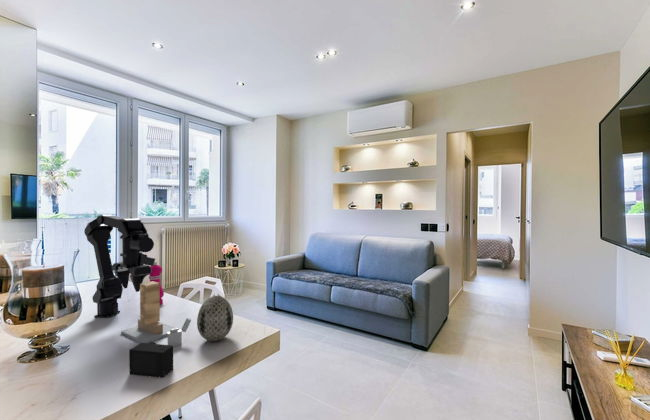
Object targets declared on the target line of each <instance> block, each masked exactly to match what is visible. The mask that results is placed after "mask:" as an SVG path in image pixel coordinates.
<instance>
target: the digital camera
mask: <svg viewBox="0 0 650 420" xmlns="http://www.w3.org/2000/svg"><path fill="white" fill-rule="evenodd" d="M128 354H129V355H128V357H129V361H128V363H129V364H128V365H129V370H128V371H129V376H130V375H132V376H141V377H149V376H151V377H152V378H158V377H160V378H159V379H164V378H165V377H166V376H168V373H169V374H170V373H171V372H173V371H174V346H173V345H168V344H159V343H156V342H155V341H153V342H149V343H140V342H139V343H138V344H137V345H135V346H134V347H133V346H132V347H131V348H130V349H129V353H128ZM163 377H164V378H163Z"/></svg>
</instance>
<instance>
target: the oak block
mask: <svg viewBox="0 0 650 420" xmlns="http://www.w3.org/2000/svg"><path fill="white" fill-rule="evenodd" d="M160 307H161V305H160V292H159V283H158V282H154V281H152V282H150V281H147V282H142V284H140V291H139V311H140V312H139V314H140V315H139V316H140V317H139V319H140V323H143V324H145V325H149V324H152V323H155V322H158V321H159V322H161V321H160V317H161V315H160V314H161V313H160V312H161V310H160V309H161V308H160Z"/></svg>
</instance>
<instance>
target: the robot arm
mask: <svg viewBox="0 0 650 420" xmlns="http://www.w3.org/2000/svg"><path fill="white" fill-rule="evenodd" d="M114 228H115V229H117V231H118V232H119V233H121V235H120V237H119V239H121V240H122V245H121V246H122V252H120V253H119V256H120V257H122V261H119V262H114V263H112V260H111V254H110V249H109V244H108V243H109V240H110V238H111V232H112V231H113V230H114ZM84 235H85V236H86V240H87V242H89V243H90V244H91V245H92V246H93V250H94V254H95V255H94V256H95V260H96V266H97V270H98V275H99V280H98V283H97V284H96V290H95V293H94V294H93V295H92V298H91V299H92V302H93V303H95V304H97V305H96V306H97V307H96V308H97V314H95V315H94V316H93V317H94V318H111V317H113V316H115V315H116V314H119V313H120V312H121V310H119V302H118V299H121V298H122V294H123V291H124V289H128V286H129V277H130V280H131V283H132V285H133V288H134V290H135V292H136V293H137V292H139V293H140V284H142V283H144V282H143V281H144V279H145V278H146V277H147V276H148V275H149V274H150V273H151V272H152V268H151V267H150V266H153V265H154V262H156V258H155V257H150V256H148V255H147V254H146V253H148V252H149V253H150V252H151V251H152V250H153V249H154V247H155V242H154V240H153V239H152V238H151V237H150V235H149V234H148V229H146V226H145V225H144V223H143V221H142V220H141V219H140V218H137V217H136V218H124V217H120V216H116V215H113V214H110V213H109V214H99V215H97V217H96V218H95V219H93V220H91V221H89V222H88V223H87V225H86V226H85V228H84ZM144 253H145V254H144ZM149 276H150V275H149Z"/></svg>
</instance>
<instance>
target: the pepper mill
mask: <svg viewBox="0 0 650 420" xmlns="http://www.w3.org/2000/svg"><path fill="white" fill-rule="evenodd" d="M149 266H150V265H149ZM150 267H151V268H152V272H151V273H150V274H149V276H148V279H149V282H152V281H154V282H158V283H159V292H160V306H161V305H163V303H164V302H163V301H164V299H163V297H164V295H165V292H164V289H163V286H162V285H161V279H162V272H163V267H162V266H161V265H159V264H158V262H157V261H155V262H154V265H153V266H150Z"/></svg>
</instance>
